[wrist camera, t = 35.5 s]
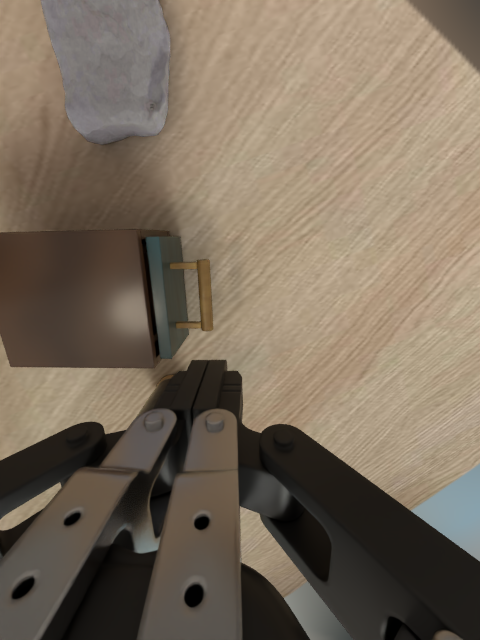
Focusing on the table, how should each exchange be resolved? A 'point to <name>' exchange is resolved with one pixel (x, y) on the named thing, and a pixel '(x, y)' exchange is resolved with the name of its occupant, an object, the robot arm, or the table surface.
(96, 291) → the cabinet
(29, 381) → the table surface
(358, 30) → the table surface
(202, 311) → the drawer
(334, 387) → the table surface
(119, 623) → the robot arm
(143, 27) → the stone block
